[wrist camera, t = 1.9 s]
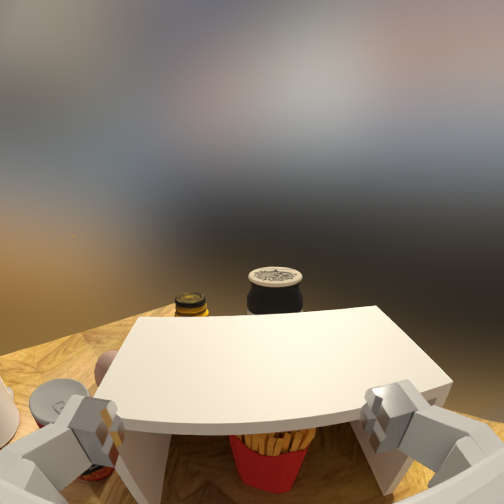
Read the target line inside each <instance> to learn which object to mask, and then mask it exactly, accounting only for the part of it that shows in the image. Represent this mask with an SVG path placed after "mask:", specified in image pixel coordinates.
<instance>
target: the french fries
mask: <svg viewBox="0 0 504 504" xmlns="http://www.w3.org/2000/svg"><path fill="white" fill-rule="evenodd" d="M315 433H316V428H308V429H301V430H293V431H284V432H273V433H260V434H243V435H228V436H229V440H230V444H231V448H232V452H233V456H234V459H235V463H236V467H237V471H238V474H239V476H240V478H241V479H242V481H243V482H244V483H245V484H248V485H250V486H253V487H256V488H258V489H261V490H265V491H268V492H272V493H276V494H279V493H283V492H287V491H290V490H291V488H292V486H293V484H294V482H295V480H296V477H297V475H298V472H299V470H300V468H301V465H302V463H303V460H304V458H305V455H306V453H307V450H308V447H309V445H310V442H311V440H312V439H313V438H314V436H315Z"/></svg>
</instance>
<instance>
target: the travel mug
mask: <svg viewBox="0 0 504 504" xmlns="http://www.w3.org/2000/svg"><path fill="white" fill-rule="evenodd" d="M248 278H249V280H250V281H251V285H252V288H251V290H250V291H249V293H248V295H247V315H269V314H286V313H301V312H302V309H303V295H302V293H301V291H300V289H299V284H300V281H301V279H302V274H301V273H300V272H298V271H296V270H293V269H290V268H284V267H266V268H260V269H256V270H254V271H252V272H251V273H250V274H249V276H248Z"/></svg>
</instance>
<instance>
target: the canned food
mask: <svg viewBox="0 0 504 504" xmlns="http://www.w3.org/2000/svg"><path fill="white" fill-rule="evenodd" d="M74 394H75V395H80V396H85V397H86V396H87V397H91V396H90V394H89V392H88V390H87V388H86V387H85V386H84V385H83V384H82V383H80V382H78V381H76V380H72V379H65V378H64V379H54V380H51V381H48V382H46V383H44V384H42V385H40V386H39V387H38V388H37V389H36V390H35V391H34V392H33V393H32V395H31V397H30V400H29V408H30V411H31V413H32V415H33V417H34V419H35V421H36V423H37V425H38V426H39V428H40V429H41V428H43V427H44V426H46V425H48V424H50V423H52V424H54V423H55V422H56V420H57V418H58V417H59V415H60V413H61V412H62V410H63V408H64V407H65V405H66V403H67V402H68V400H69V399H70V397H71V396H72V395H74ZM113 470H114V467H108V466H103V465H97V464H92V465H91V466H90V467H89V468H88V469H87V470H86V471H84V472H83V473H82V474H81V475H80V476H78V478H80V479H83V480H87V481H96V480H101V479H103V478H105V477H107V476H109V475H110V474H111V473H112V471H113Z"/></svg>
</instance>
